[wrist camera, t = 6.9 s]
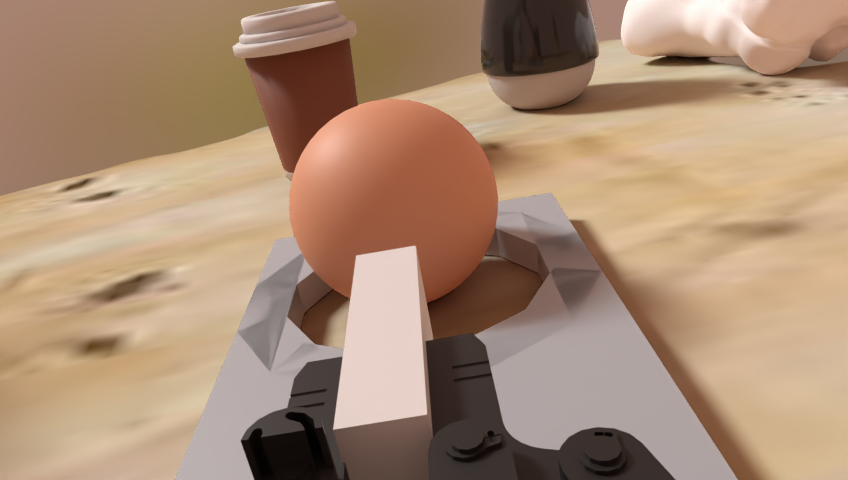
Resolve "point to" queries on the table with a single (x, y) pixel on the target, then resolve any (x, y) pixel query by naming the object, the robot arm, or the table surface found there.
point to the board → (506, 347)
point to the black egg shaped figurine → (538, 50)
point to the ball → (394, 194)
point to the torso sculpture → (738, 30)
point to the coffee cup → (299, 71)
